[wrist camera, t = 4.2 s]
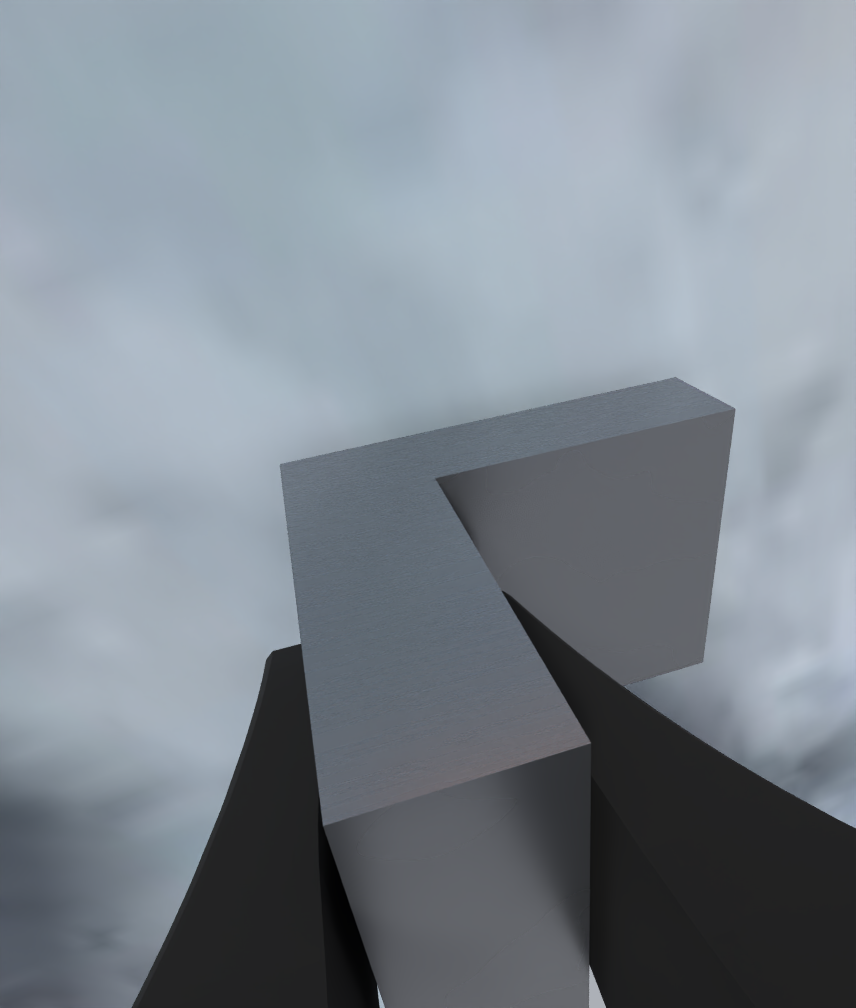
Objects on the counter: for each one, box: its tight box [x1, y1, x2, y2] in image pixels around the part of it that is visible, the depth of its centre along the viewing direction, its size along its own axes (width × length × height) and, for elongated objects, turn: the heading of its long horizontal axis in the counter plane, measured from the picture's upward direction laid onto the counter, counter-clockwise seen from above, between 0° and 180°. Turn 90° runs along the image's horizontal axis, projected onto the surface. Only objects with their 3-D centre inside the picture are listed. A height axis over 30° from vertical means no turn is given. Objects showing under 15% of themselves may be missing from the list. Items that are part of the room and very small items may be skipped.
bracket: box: [280, 377, 735, 1008], centre depth 9 cm, size 6×5×6 cm
